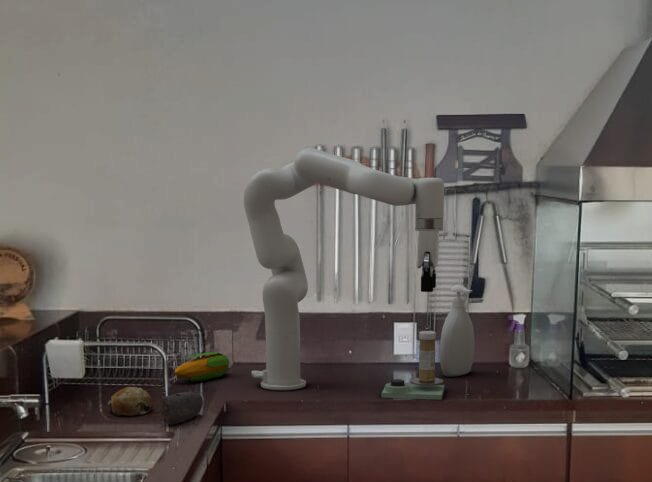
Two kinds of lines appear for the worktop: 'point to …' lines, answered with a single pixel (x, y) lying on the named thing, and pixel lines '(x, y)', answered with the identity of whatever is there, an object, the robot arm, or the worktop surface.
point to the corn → (204, 367)
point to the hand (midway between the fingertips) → (428, 289)
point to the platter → (422, 383)
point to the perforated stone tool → (180, 407)
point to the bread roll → (131, 402)
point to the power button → (397, 382)
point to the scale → (413, 391)
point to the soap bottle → (457, 338)
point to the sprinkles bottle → (427, 356)
